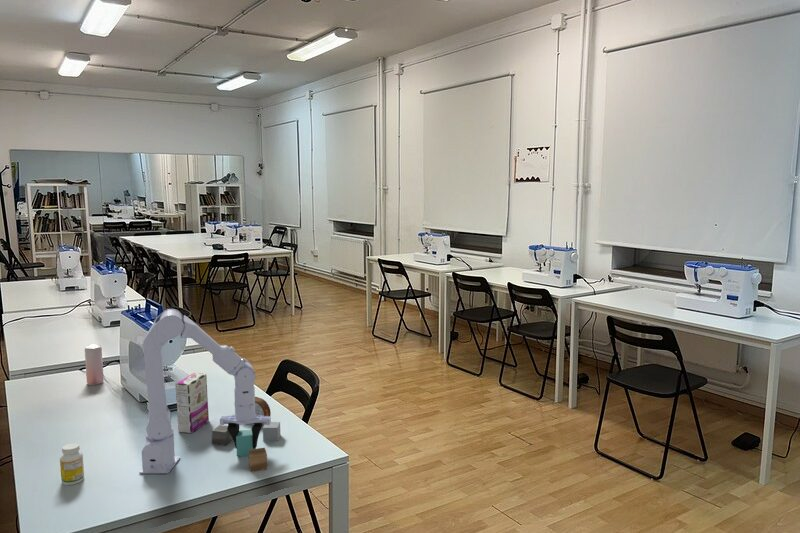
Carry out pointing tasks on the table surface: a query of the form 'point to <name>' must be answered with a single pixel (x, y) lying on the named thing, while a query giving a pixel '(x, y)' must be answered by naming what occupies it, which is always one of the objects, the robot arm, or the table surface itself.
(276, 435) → the slate-grey block
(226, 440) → the charcoal block
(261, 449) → the walnut block
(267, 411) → the tin
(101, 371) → the beverage can
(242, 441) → the teal block
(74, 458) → the supplement bottle
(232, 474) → the table surface
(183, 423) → the candy bar box
